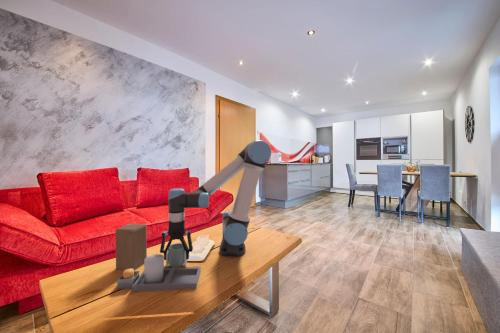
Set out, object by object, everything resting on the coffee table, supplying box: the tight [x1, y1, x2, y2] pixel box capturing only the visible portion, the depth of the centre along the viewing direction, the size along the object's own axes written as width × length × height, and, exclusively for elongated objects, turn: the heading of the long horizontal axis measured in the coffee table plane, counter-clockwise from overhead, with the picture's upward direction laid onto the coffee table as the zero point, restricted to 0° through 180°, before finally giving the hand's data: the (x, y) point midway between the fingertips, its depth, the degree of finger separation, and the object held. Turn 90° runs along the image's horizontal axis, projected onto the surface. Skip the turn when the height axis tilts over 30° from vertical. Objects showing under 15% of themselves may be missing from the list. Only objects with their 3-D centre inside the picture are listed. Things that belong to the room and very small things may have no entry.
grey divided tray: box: [131, 266, 202, 293], centre depth 91 cm, size 25×14×3 cm, turn 96°
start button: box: [122, 268, 135, 278], centre depth 88 cm, size 4×4×4 cm
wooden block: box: [115, 222, 148, 271], centre depth 104 cm, size 10×10×20 cm
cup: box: [167, 242, 185, 268], centre depth 105 cm, size 8×8×10 cm
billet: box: [143, 253, 165, 284], centre depth 91 cm, size 8×8×10 cm
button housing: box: [116, 270, 140, 290], centre depth 88 cm, size 6×6×4 cm
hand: (176, 265), depth 105 cm, fingers closed on cup, 8 cm apart
